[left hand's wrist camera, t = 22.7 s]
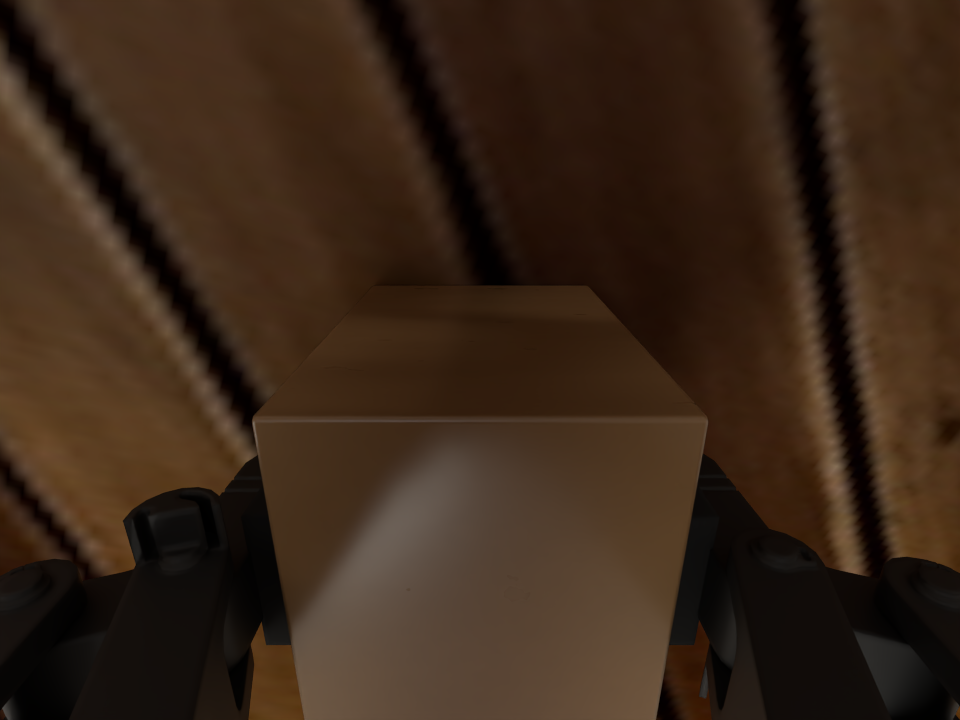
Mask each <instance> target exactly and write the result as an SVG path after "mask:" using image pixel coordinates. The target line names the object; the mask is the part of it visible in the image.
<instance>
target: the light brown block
mask: <svg viewBox="0 0 960 720" xmlns="http://www.w3.org/2000/svg"><path fill="white" fill-rule="evenodd" d="M252 425H253V430H254V436H255V442H256V447H257V453H258V459H259V464H260V470H261V476H262V481H263V487H264V493H265V498H266V504H267V510H268V516H269V521H270V527H271V533H272V538H273V544H274V550H275V555H276V561H277V567H278V572H279V578H280V584H281V589H282V595H283V601H284V606H285V612H286V618H287V623H288V629H289V635H290V640H291V646H292V652H293V657H294V663H295V669H296V674H297V680H298V686H299V691H300V697H301V703H302V708H303V714H304V720H656V715H657V710H658V704H659V698H660V693H661V687H662V681H663V676H664V670H665V664H666V659H667V653H668V647H669V642H670V636H671V630H672V625H673V619H674V613H675V608H676V602H677V596H678V591H679V585H680V579H681V574H682V568H683V562H684V557H685V551H686V545H687V540H688V534H689V528H690V523H691V517H692V511H693V506H694V500H695V494H696V489H697V483H698V477H699V472H700V466H701V460H702V455H703V449H704V443H705V438H706V432H707V426H708V419H707V416H706V415H705V414H704V413H703V412H702V410H701V409H700V408H699V407H698V406H697V405H696V404H695V403H694V402H693V401H692V399H691V398H690V397H689V396H688V395H687V394H686V393H685V392H684V391H683V390H682V389H681V387H680V386H679V385H678V384H677V383H676V382H675V381H674V380H673V379H672V378H671V376H670V375H669V374H668V373H667V372H666V371H665V370H664V369H663V368H662V367H661V366H660V364H659V363H658V362H657V361H656V360H655V359H654V358H653V357H652V356H651V355H650V353H649V352H648V351H647V350H646V349H645V348H644V347H643V346H642V345H641V344H640V343H639V341H638V340H637V339H636V338H635V337H634V336H633V335H632V334H631V333H630V332H629V330H628V329H627V328H626V327H625V326H624V325H623V324H622V323H621V322H620V321H619V319H618V318H617V317H616V316H615V315H614V314H613V313H612V312H611V311H610V310H609V309H608V307H607V306H606V305H605V304H604V303H603V302H602V301H601V300H600V299H599V298H598V296H597V295H596V294H595V293H594V292H593V291H592V290H591V289H590V288H589V287H588V286H372V287H371V288H370V289H369V291H368V292H367V293H366V294H365V295H364V296H363V297H362V298H361V299H360V300H359V301H358V303H357V304H356V305H355V306H354V307H353V308H352V309H351V310H350V311H349V312H348V313H347V315H346V316H345V317H344V318H343V319H342V320H341V321H340V322H339V323H338V324H337V325H336V327H335V328H334V329H333V330H332V331H331V332H330V333H329V334H328V335H327V336H326V337H325V339H324V340H323V341H322V342H321V343H320V344H319V345H318V346H317V347H316V348H315V349H314V351H313V352H312V353H311V354H310V355H309V356H308V357H307V358H306V359H305V360H304V361H303V363H302V364H301V365H300V366H299V367H298V368H297V369H296V370H295V371H294V372H293V373H292V375H291V376H290V377H289V378H288V379H287V380H286V381H285V382H284V383H283V384H282V385H281V387H280V388H279V389H278V390H277V391H276V392H275V393H274V394H273V395H272V396H271V397H270V399H269V400H268V401H267V402H266V403H265V404H264V405H263V406H262V407H261V408H260V409H259V411H258V412H257V413H256V414H255V415H254V416H253V419H252Z"/></svg>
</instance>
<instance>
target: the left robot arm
mask: <svg viewBox="0 0 960 720" xmlns="http://www.w3.org/2000/svg"><path fill="white" fill-rule="evenodd" d="M123 522H124V526H125V529H126V532H127V536H128V539H129V543H130V546H131V549H132V553H133V556H134V559H135V563H136V566H135V568H134V569H133V570H130V571H126V572H122V573H117V574H113V575H108V576H104V577H99V578H94V579H90V580H85V581H82V579H81V576H80V573H79V570H78V568H77V566H76V565H75V564H73V563H72V562H70V561H69V560H60V559H51V560H44V561H38V562H34V563H30V564H26V565H25V566H21V567H18V568H15V569H13V570H11V571H9V572H7V573H6V574H4V575H2V576H0V710H1V709H3V711H4V713H5V715H6V717H5V718H4V719H3V720H248V717H249V708H250V698H251V689H252V680H253V671H254V660H253V653H252V649H251V642H252V640H253V638H254V636H255V634H256V632H257V630H258V628H259V626H260V623H261V621H262V626H263V631H264V636H265V641H266V645H291V640H290V635H289V629H288V623H287V618H286V612H285V606H284V601H283V595H282V589H281V584H280V578H279V572H278V567H277V561H276V555H275V550H274V544H273V538H272V533H271V527H270V521H269V516H268V510H267V504H266V498H265V493H264V487H263V481H262V476H261V470H260V464H259V459H258V455H257V456H256V457H254V458H253V459H251V460H250V461H248V462H247V463H245V465H244V466H243V467H242V468H241V470H240V471H239V472H238V473H237V475H236V476H235V477H234V480H232V481H231V482H230V484H229V485H228V486H227V487H226V489H225V492H224V493H222V494H221V495H220V496H219V495H217V494H216V493H215V492H213V491H212V490H210V489H205V488H200V487H194V488H181V489H177V490H173V491H169V492H165V493H162V494H160V495H158V496H155V497H153V498H151V499H148V500H146V501H145V502H143V503H142V504H140V505H139V506H137V507H136V508H134V509H133V510H132V511H131V512H130V513H129V514H128V515H127V517H126V518H125V519H124V520H123ZM699 620H700V622H701V624H702V626H703V628H704V631H705V633H706V635H707V637H708V639H709V641H710V644H709V649H708V653H707V658H706V663H705V667H704V672H703V677H702V682H701V687H700V693H699V696H700V697H703V698H706V696H707V692H708V688H709V697H710V706H711V716H712V720H959V718H958V717H957V716H956V715H955V714H956V712H957V710H958V708H959V706H960V573H958V572H956V571H954V570H952V569H951V568H949V567H947V566H944V565H941V564H937V563H936V562H932V561H928V560H924V559H918V558H912V557H900V558H892V559H891V560H889V561H888V562H886V563H885V564H884V566H883V569H882V572H881V575H880V577H879V579H876V578H872V577H867V576H862V575H858V574H853V573H849V572H844V571H839V570H835V569H832V568H828V567H825V565H824V563H823V562H822V560H821V559H820V558H819V556H818V555H817V553H816V552H815V551H813V550H812V549H811V548H809V547H808V546H807V545H806V544H804V543H803V542H802V541H800V540H797V539H795V538H793V537H791V536H789V535H787V534H785V533H782V532H778V531H774V530H771V529H769V528H768V527H767V526H766V525H765V523H764V522H763V521H762V520H761V518H760V517H759V516H758V515H757V513H756V512H755V511H754V510H753V508H752V507H751V506H750V505H749V503H748V502H747V501H746V500H745V498H744V497H743V496H742V495H741V493H740V492H739V491H736V487H735V486H734V485H733V483H732V482H731V481H730V480H729V479H727V478H726V475H725V473H724V472H723V471H722V470H721V468H720V467H719V466H718V465H717V463H716V462H715V461H714V460H712V459H711V458H709V457H707V456H706V455H704V454H703V455H702V460H701V466H700V472H699V477H698V483H697V489H696V494H695V500H694V506H693V511H692V517H691V523H690V528H689V534H688V540H687V545H686V551H685V557H684V562H683V568H682V574H681V579H680V585H679V591H678V596H677V602H676V608H675V613H674V619H673V625H672V630H671V636H670V642H669V645H694V643H695V638H696V633H697V628H698V623H699Z"/></svg>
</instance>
